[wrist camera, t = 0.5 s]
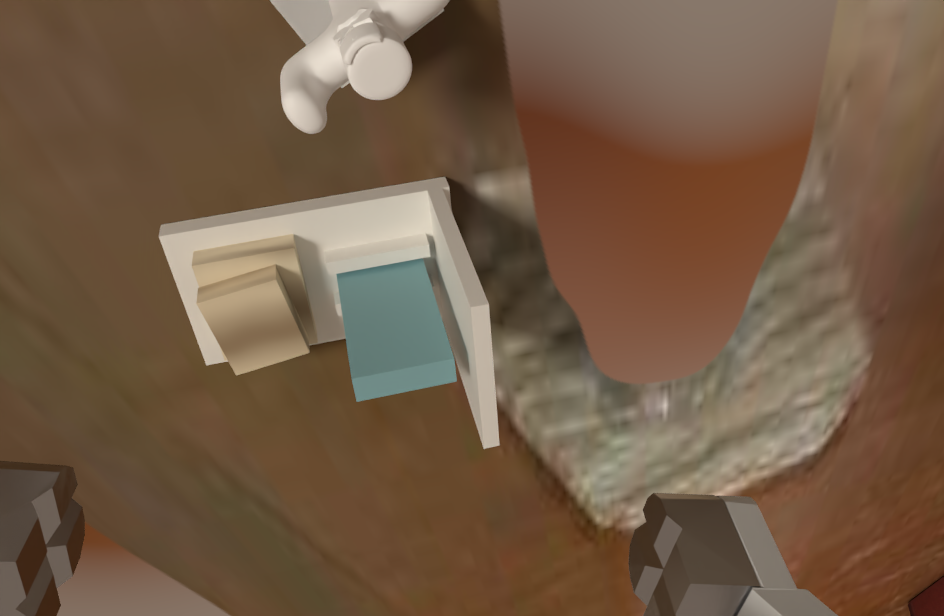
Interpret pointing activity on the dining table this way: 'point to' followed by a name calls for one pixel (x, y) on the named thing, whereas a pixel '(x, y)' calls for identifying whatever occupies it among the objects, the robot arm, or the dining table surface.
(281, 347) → the offcut top
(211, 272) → the plate
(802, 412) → the dining table surface
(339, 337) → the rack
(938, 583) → the plant pot
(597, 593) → the dining table surface
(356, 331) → the tall board
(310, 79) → the figurine
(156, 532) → the dining table surface
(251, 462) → the dining table surface
